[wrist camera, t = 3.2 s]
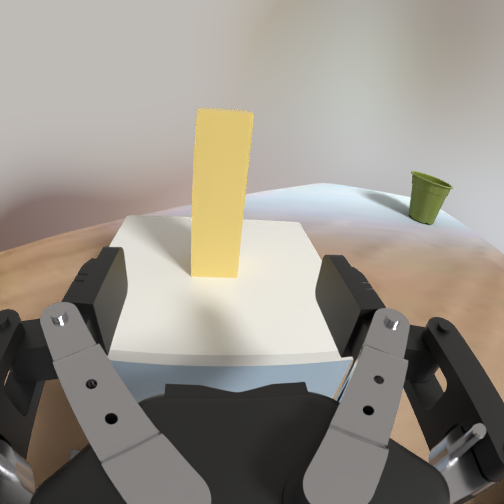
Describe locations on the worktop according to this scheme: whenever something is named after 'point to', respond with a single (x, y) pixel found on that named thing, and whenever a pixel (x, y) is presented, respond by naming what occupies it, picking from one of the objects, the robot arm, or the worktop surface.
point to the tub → (229, 376)
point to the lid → (220, 272)
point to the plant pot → (427, 197)
